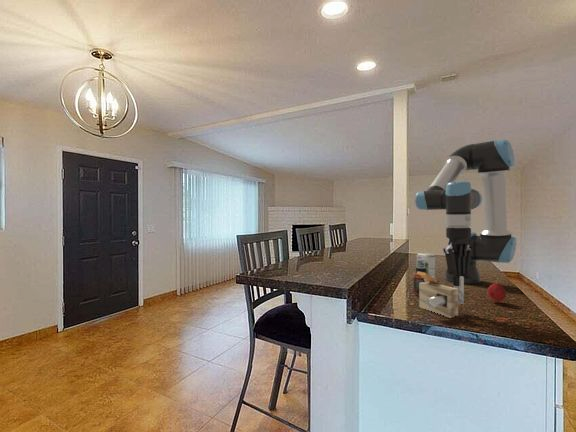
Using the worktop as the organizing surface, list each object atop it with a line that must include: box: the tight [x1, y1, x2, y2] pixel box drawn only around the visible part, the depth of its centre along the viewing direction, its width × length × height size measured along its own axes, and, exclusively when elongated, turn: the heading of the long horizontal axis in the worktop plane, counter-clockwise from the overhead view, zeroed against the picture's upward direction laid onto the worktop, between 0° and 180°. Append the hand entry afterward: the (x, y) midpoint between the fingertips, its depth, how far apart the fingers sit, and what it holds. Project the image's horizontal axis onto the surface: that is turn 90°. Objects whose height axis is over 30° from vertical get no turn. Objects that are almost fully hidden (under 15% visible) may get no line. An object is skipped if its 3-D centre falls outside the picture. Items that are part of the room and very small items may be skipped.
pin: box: [427, 290, 465, 307], centre depth 102 cm, size 13×5×5 cm, turn 116°
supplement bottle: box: [412, 266, 429, 297], centre depth 125 cm, size 6×6×11 cm
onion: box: [486, 281, 507, 304], centre depth 113 cm, size 6×6×8 cm
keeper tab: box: [417, 271, 440, 284], centre depth 107 cm, size 8×4×1 cm, turn 116°
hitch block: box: [418, 281, 459, 319], centre depth 105 cm, size 4×12×9 cm, turn 26°
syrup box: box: [416, 252, 436, 279], centre depth 141 cm, size 6×6×14 cm
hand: (458, 294), depth 105 cm, fingers closed
